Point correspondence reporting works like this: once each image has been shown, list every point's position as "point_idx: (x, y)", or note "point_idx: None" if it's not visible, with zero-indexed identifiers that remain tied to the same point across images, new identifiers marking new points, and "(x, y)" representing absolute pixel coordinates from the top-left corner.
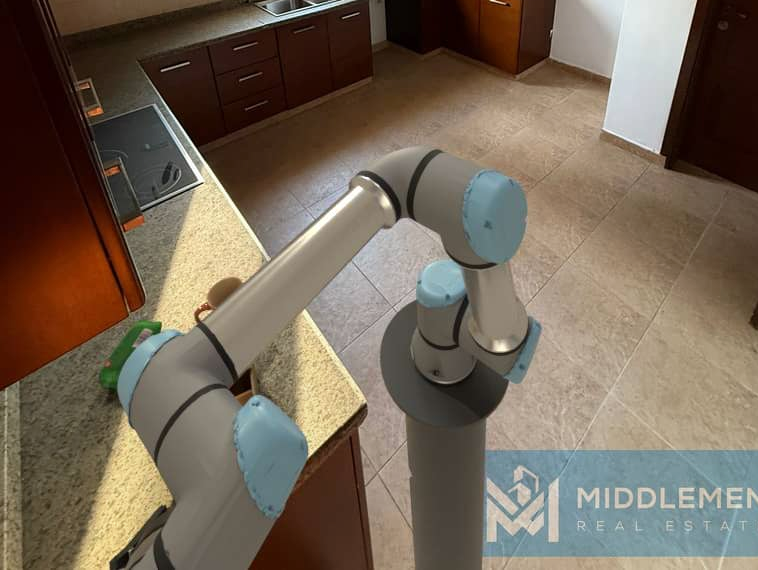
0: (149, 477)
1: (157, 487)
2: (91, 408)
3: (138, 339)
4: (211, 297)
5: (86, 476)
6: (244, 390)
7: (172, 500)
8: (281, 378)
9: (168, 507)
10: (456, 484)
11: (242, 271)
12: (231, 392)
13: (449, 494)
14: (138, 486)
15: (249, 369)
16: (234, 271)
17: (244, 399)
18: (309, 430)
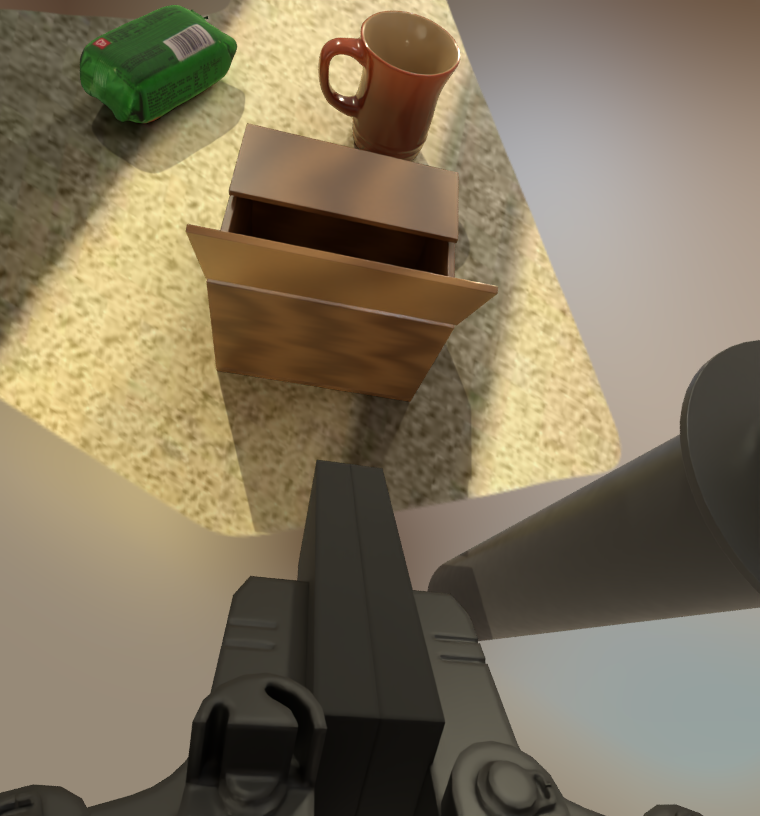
0: (153, 322)
1: (166, 351)
2: (58, 122)
3: (179, 36)
4: (371, 37)
5: (23, 239)
6: None
7: (181, 801)
8: None
9: (124, 811)
10: (626, 615)
11: None
12: None
13: (599, 611)
14: (126, 324)
15: (450, 241)
16: None
17: (453, 301)
18: (511, 446)
